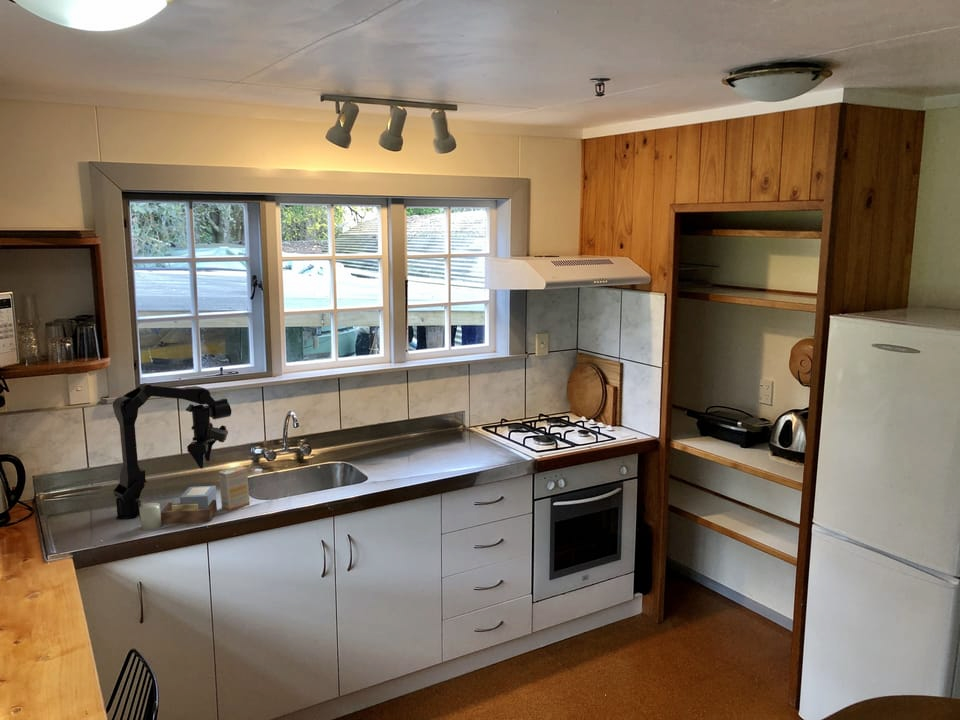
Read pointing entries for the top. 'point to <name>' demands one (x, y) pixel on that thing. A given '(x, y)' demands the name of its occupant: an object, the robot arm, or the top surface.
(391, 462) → the top surface
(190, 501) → the carton
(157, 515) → the frosted glass jar
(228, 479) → the supplement box
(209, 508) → the wooden tray
